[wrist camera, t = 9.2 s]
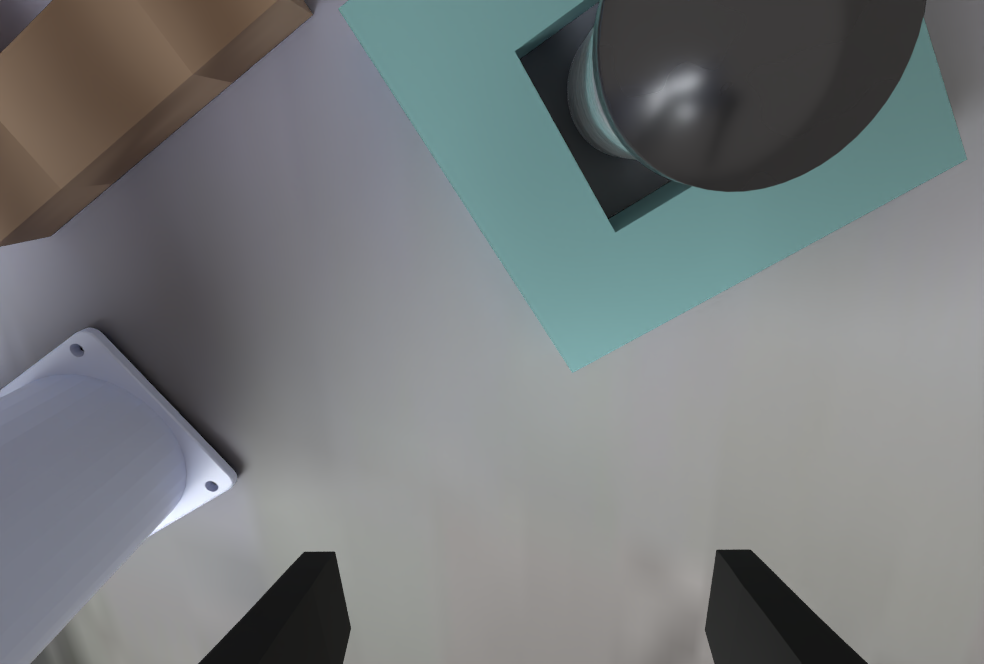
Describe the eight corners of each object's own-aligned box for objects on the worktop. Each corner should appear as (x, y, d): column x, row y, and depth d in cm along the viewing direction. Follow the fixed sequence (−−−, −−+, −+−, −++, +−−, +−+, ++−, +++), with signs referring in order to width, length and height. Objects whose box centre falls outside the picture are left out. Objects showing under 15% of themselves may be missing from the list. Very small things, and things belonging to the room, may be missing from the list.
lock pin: (607, 197, 16) (689, 247, 8) (527, 66, 15) (540, -13, 7) (741, 106, 15) (972, 70, 7) (667, -44, 14) (854, -273, 6)
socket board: (566, 348, 18) (572, 372, 16) (361, 26, 14) (338, 8, 13) (911, 157, 15) (967, 159, 13) (756, -295, 12) (802, -379, 10)
